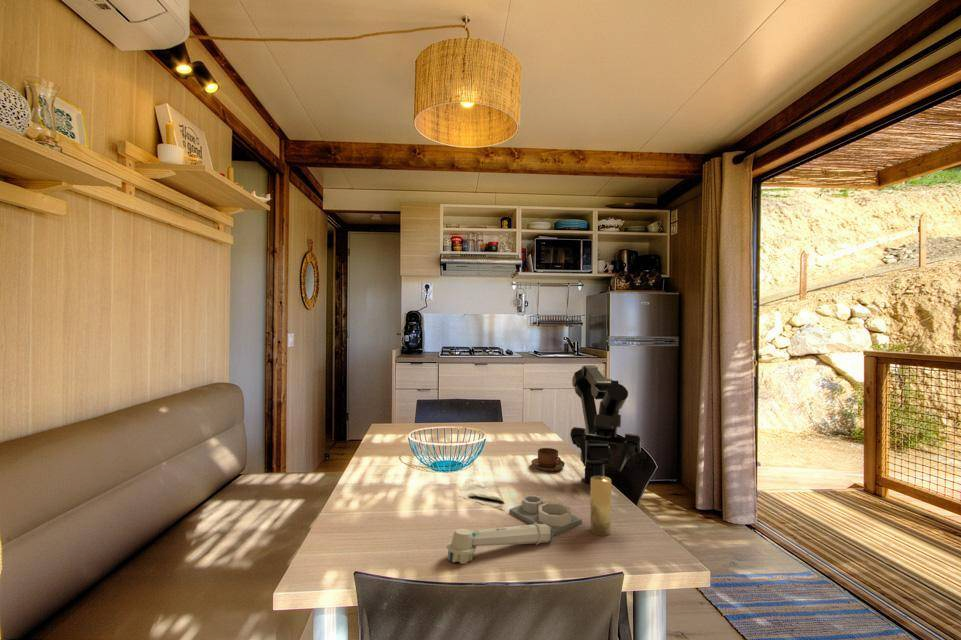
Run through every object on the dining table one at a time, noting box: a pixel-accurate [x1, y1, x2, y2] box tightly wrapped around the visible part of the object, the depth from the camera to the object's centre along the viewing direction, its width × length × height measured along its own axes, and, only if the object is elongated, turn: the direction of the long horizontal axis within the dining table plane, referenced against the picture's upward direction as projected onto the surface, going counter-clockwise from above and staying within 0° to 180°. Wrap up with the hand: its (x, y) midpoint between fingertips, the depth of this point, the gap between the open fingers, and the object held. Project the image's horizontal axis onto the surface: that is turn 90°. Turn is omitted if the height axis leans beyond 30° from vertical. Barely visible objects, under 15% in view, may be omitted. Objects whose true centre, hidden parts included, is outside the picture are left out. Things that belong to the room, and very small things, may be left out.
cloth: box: [458, 478, 505, 511], centre depth 130 cm, size 26×14×2 cm, turn 13°
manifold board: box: [508, 494, 583, 537], centre depth 114 cm, size 11×16×4 cm
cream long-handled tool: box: [446, 523, 554, 565], centre depth 98 cm, size 5×7×25 cm
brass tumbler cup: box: [589, 475, 612, 537], centre depth 108 cm, size 5×5×13 cm
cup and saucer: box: [530, 447, 565, 472], centre depth 155 cm, size 12×12×6 cm
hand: (601, 468), depth 115 cm, fingers open, 9 cm apart
